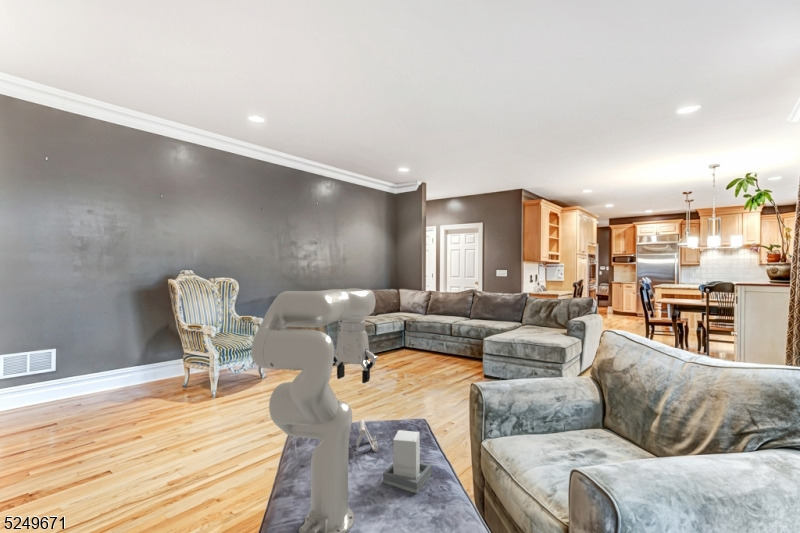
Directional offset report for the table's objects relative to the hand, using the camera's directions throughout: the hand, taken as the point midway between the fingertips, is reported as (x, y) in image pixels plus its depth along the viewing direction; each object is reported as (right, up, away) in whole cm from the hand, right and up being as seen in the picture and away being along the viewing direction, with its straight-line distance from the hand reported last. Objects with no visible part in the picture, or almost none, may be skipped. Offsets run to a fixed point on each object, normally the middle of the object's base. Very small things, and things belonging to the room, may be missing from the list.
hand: (353, 379), depth 122 cm
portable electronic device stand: (+3, -31, +19) cm, 36 cm away
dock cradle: (+18, -30, -2) cm, 35 cm away
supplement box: (+17, -30, -3) cm, 34 cm away
